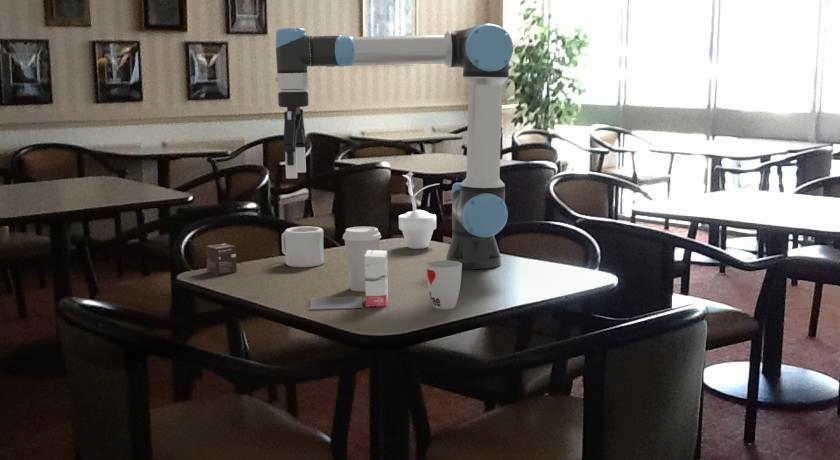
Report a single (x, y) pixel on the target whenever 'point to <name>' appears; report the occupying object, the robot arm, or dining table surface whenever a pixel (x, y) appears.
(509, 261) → the dining table surface
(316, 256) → the mug
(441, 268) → the cup
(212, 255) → the box
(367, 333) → the dining table surface
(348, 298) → the mat
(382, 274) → the ink box
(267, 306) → the dining table surface
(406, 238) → the potted plant
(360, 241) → the coffee cup
